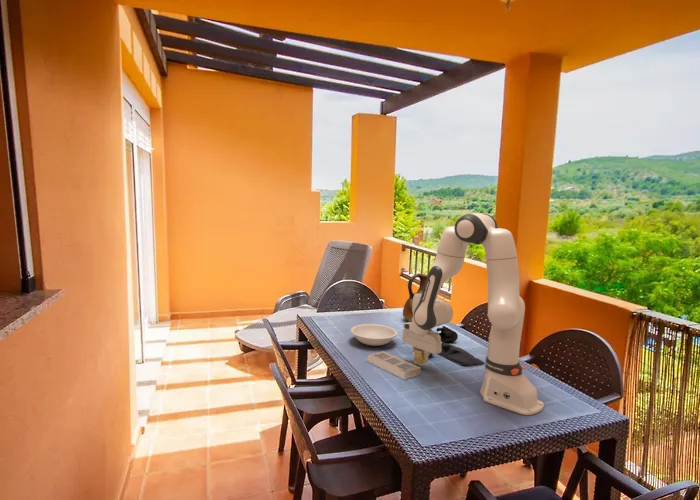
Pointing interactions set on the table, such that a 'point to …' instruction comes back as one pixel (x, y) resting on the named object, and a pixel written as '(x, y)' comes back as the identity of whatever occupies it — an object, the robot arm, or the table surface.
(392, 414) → the table surface
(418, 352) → the golden yellow block
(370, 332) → the soup bowl
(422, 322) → the robot arm
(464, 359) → the dark slate chunk
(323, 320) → the table surface
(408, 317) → the ceramic pitcher
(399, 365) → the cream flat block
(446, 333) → the end cap
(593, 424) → the table surface
